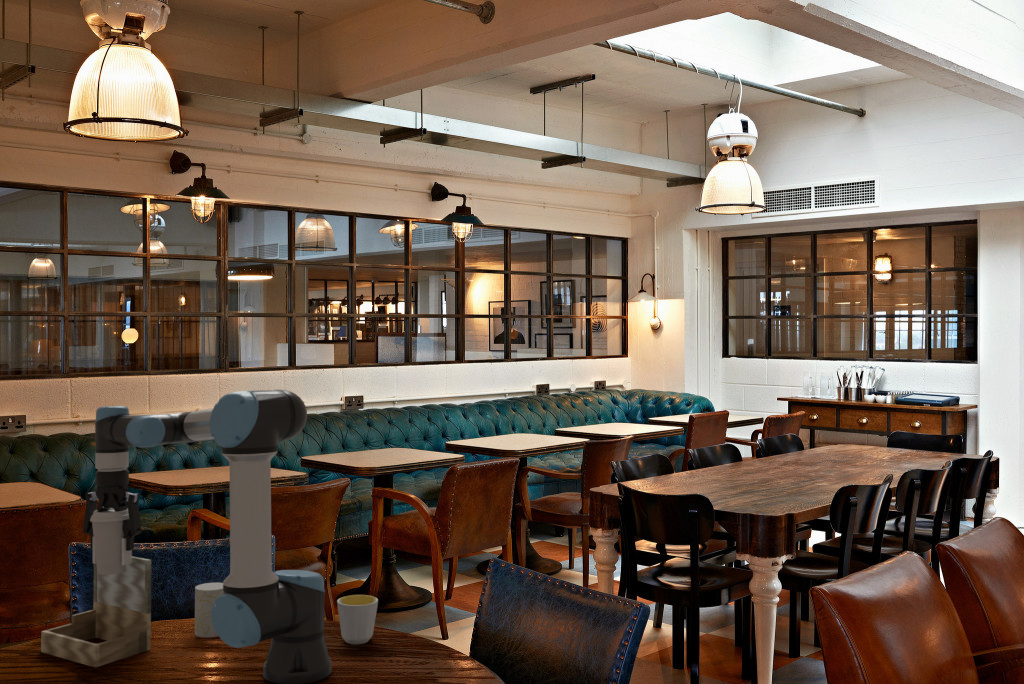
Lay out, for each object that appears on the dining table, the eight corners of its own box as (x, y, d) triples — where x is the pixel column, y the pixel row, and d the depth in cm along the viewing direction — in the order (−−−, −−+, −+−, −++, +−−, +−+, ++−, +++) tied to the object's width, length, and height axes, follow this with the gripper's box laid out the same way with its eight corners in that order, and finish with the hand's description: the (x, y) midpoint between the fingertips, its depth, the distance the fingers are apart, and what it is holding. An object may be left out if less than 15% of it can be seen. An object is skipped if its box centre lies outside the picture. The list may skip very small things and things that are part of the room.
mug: (373, 647, 230) (374, 605, 230) (332, 647, 230) (333, 604, 230) (383, 631, 243) (383, 591, 243) (344, 630, 244) (344, 590, 244)
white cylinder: (188, 635, 239) (188, 588, 239) (207, 626, 246) (207, 581, 247) (215, 638, 236) (215, 591, 236) (233, 629, 244) (234, 583, 244)
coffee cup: (125, 575, 222) (124, 512, 222) (84, 577, 221) (83, 513, 221) (138, 566, 231) (137, 506, 232) (98, 568, 231) (98, 507, 231)
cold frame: (154, 648, 228) (155, 558, 228) (95, 667, 214) (96, 572, 214) (101, 634, 239) (101, 549, 239) (41, 652, 225) (42, 561, 225)
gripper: (158, 468, 228) (158, 561, 227) (87, 466, 233) (87, 558, 232) (138, 472, 220) (138, 568, 220) (65, 470, 226) (65, 564, 225)
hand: (112, 563), depth 226 cm, fingers closed on coffee cup, 7 cm apart
